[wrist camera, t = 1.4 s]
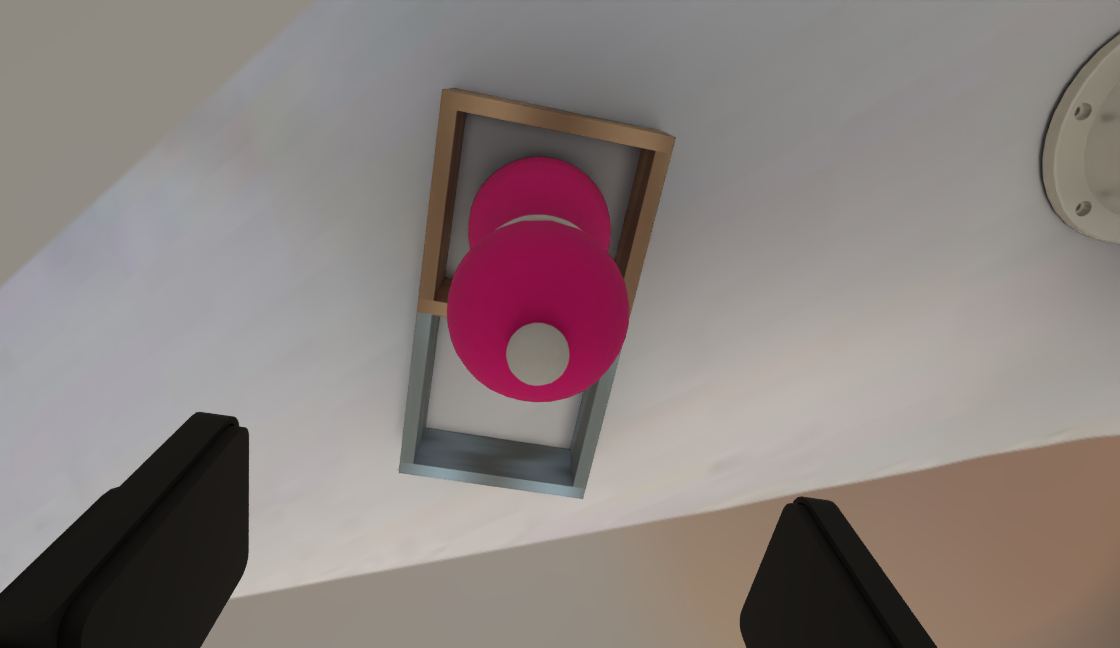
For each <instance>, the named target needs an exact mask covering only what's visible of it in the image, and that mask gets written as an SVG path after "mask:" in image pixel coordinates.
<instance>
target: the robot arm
mask: <svg viewBox="0 0 1120 648" xmlns="http://www.w3.org/2000/svg"><path fill="white" fill-rule="evenodd" d="M1042 159H1043V180H1044V184H1045V188H1046V192H1047V196H1048V199H1049V200H1050V202H1051V204H1052V206H1053V208H1054V210H1055V212H1056V213H1057V214H1058V215H1059V216H1060V217H1061V219H1062V220H1063V221H1064V222H1065V223H1066V224H1067V225H1068V226H1070V227H1071V228H1073V229H1075V230H1076V231H1078V232H1079V233H1081V234H1083V235H1086V236H1089V237H1092V238H1095V239H1098V240H1101V241H1106V242H1111V243H1116V244H1120V34H1119V35H1118V36H1116V37H1115V38H1114V39H1113V40H1111V41H1110V42H1109V43H1108V44H1106V45H1105V46H1104V47H1103V48H1101V49H1100V50H1099V51H1098V52H1097V53H1096V54H1095V55H1094V56H1093V58H1092V59H1091V60H1090V61H1089V62H1088V63H1087V64H1086V65H1085V66H1084V67H1083V68H1082V69H1081V70H1080V72H1079V73H1078V75H1077V76H1076V77H1075V79H1074V80H1073V82H1072V83H1071V84H1070V86H1069V87H1068V89H1067V90H1066V91H1065V93H1064V95H1063V97H1062V99H1061V101H1060V103H1059V105H1058V107H1057V109H1056V111H1055V113H1054V115H1053V118H1052V121H1051V124H1050V126H1049V129H1048V132H1047V135H1046V140H1045V146H1044V152H1043V158H1042ZM248 552H249V432H248V429H247V428H245V427H239V422H238V420H237V418H235V417H233V416H225V415H218V414H211V413H204V412H196V413H195V414H194V415H192V416H191V417H190V418H189V419H188V420H187V421H186V422H185V423H184V424H183V425H182V426H181V427H180V428H179V429H178V430H177V431H176V432H175V433H174V434H173V435H172V436H171V437H170V438H169V439H168V440H167V441H166V442H165V443H164V444H162V445H161V446H160V447H159V448H158V449H157V450H156V451H155V452H154V453H153V454H152V455H151V456H150V457H149V458H148V459H147V460H146V461H145V462H144V463H143V464H142V465H141V466H140V467H139V468H138V469H137V470H136V471H135V472H134V473H133V474H132V475H131V476H130V477H129V478H128V479H127V480H126V481H125V482H124V483H123V484H122V485H121V486H120V487H116V488H113V489H110V490H109V491H108V492H106V493H105V494H104V495H102V496H101V497H100V498H99V499H98V500H97V501H96V502H95V503H94V504H93V505H92V506H91V507H90V508H89V509H88V510H87V511H85V512H84V513H83V514H82V515H81V516H80V517H79V518H78V519H77V520H76V521H75V522H74V523H73V524H72V525H71V526H70V527H69V528H68V529H67V530H66V531H65V532H64V533H63V534H62V535H61V536H59V537H58V538H57V539H56V540H55V541H54V542H53V543H52V544H51V545H50V546H49V547H48V548H47V549H46V550H45V551H44V552H43V553H42V554H41V555H40V556H39V557H38V558H37V559H36V560H35V561H33V562H32V563H31V564H30V565H29V566H28V567H27V568H26V569H25V570H24V571H23V572H22V573H21V574H20V575H19V576H18V577H17V578H16V579H15V580H14V581H13V582H12V583H11V584H10V585H8V586H7V587H6V588H5V589H4V590H3V591H2V592H1V593H0V648H200V647H201V646H202V644H203V642H204V640H205V639H206V637H207V635H208V633H209V632H210V630H211V628H212V627H213V625H214V623H215V622H216V620H217V618H218V616H219V615H220V613H221V612H222V610H223V608H224V606H225V605H226V603H227V601H228V600H229V598H230V596H231V595H232V593H233V591H234V589H235V588H236V586H237V584H238V583H239V581H240V579H241V577H242V575H243V573H244V571H245V568H246V564H247V560H248ZM740 630H741V634H742V637H743V640H744V642H745V645H746V648H937V646H936V645H935V643H934V642H933V641H932V639H931V638H930V636H929V635H928V634H927V632H926V631H925V629H924V628H923V627H922V625H921V624H920V622H919V621H918V619H917V618H916V617H915V615H914V614H913V612H911V610H910V608H909V607H908V605H907V604H906V603H905V601H904V600H903V599H902V597H901V596H900V594H899V593H898V591H897V590H896V589H895V587H894V586H893V584H892V583H891V581H890V580H889V579H888V577H887V576H886V574H885V573H884V572H883V570H882V569H881V567H880V566H879V565H878V563H877V562H876V560H875V559H874V558H873V556H872V555H871V553H870V552H869V551H868V549H867V548H866V546H865V545H864V544H863V542H862V541H861V539H860V538H859V537H858V535H857V534H856V532H855V531H854V529H853V528H852V527H851V525H850V524H849V522H848V521H847V520H846V518H845V517H844V515H843V514H842V513H841V511H840V510H839V508H838V507H837V506H836V505H835V504H834V503H833V502H831V501H829V500H822V499H815V498H808V497H798V498H797V499H795V500H794V502H793V503H790V504H787V505H786V506H785V507H784V509H783V511H782V513H781V516H780V518H779V521H778V523H777V525H776V528H775V530H774V533H773V535H772V538H771V540H770V542H769V545H768V547H767V550H766V552H765V555H764V557H763V560H762V562H761V564H760V567H759V570H758V572H757V574H756V577H755V579H754V582H753V584H752V586H751V589H750V592H749V594H748V596H747V599H746V601H745V604H744V606H743V609H742V611H741V615H740Z"/></svg>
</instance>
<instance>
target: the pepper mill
mask: <svg viewBox="0 0 1120 648" xmlns="http://www.w3.org/2000/svg"><path fill="white" fill-rule="evenodd" d="M468 236H469V244H470V249H471V250H470V251H469V252H468V253H467V255H466V256H465V257H464V258H463V260H462V261H461V263H460V264H459V266H458V268H457V270H456V272H455V274H454V276H453V279H452V283H451V287H450V290H449V294H448V303H447V321H448V328H449V333H450V337H451V341H452V343H453V346H454V348H455V351H456V353H457V355H458V356H459V358H460V359H461V361H462V362H463V364H464V365H465V366H466V368H467V369H468V370H469V372H470V373H471V374H472V375H473V376H474V377H475V378H476V379H477V380H478V381H480V382H481V383H482V384H484V385H485V386H486V387H488V388H489V389H491V390H493V391H495V392H497V393H499V394H502V395H504V396H506V397H510V398H514V399H517V400H522V401H530V402H551V401H556V400H560V399H565V398H569V397H571V396H573V395H575V394H578V393H580V392H582V391H584V390H586V389H587V388H588V387H590V386H591V385H593V384H594V383H596V382H597V381H598V380H599V379H600V378H601V377H602V376H603V375H604V374H605V373H606V372H607V371H608V369H609V368H610V366H611V365H612V364H613V362H614V361H615V359H616V358H617V356H618V355H619V353H620V350H621V348H622V345H623V343H624V340H625V338H626V333H627V329H628V324H629V300H628V294H627V289H626V284H625V281H624V279H623V277H622V275H621V273H620V271H619V269H618V267H617V265H616V263H615V261H614V260H613V259H612V257H611V256H610V255H609V253H608V249H609V244H610V236H611V227H610V216H609V212H608V208H607V205H606V202H605V200H604V197H603V195H602V194H601V192H600V190H599V189H598V187H597V186H596V185H595V183H594V182H593V181H592V180H591V179H590V178H589V176H587V175H586V174H585V173H583V172H582V171H581V170H579V169H578V168H577V167H575V166H573V165H571V164H569V163H567V162H564V161H561V160H558V159H554V158H547V157H531V158H525V159H521V160H517V161H514V162H512V163H510V164H507V165H505V166H504V167H502V168H501V169H499V170H498V171H496V172H495V173H494V174H493V175H492V176H490V177H489V178H488V179H487V180H486V182H485V183H484V184H483V185H482V187H481V188H480V190H479V191H478V193H477V195H476V197H475V199H474V202H473V205H472V207H471V212H470V218H469V234H468Z"/></svg>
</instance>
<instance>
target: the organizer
mask: <svg viewBox="0 0 1120 648" xmlns="http://www.w3.org/2000/svg"><path fill="white" fill-rule="evenodd" d="M466 112H467V113H472V114H477V115H482V116H486V117H491V118H496V119H501V120H506V121H511V122H516V123H521V124H526V125H531V126H536V127H541V128H546V129H551V130H555V131H560V132H565V133H570V134H575V135H580V136H585V137H590V138H595V139H600V140H605V141H610V142H615V143H620V144H624V145H629V146H634V147H639V148H642V150H641V154H640V158H639V162H638V166H637V171H636V175H635V179H634V183H633V187H632V192H631V196H630V200H629V204H628V208H627V213H626V217H625V221H624V225H623V229H622V234H621V238H620V242H619V246H618V250H617V255H616V259H615V263H616V265H617V267H618V269H619V271H620V273H621V275H622V277H623V279H624V281H625V284H626V289H627V294H628V300H629V317H630V314H631V310H632V306H633V302H634V298H635V294H636V290H637V286H638V282H639V278H640V275H641V271H642V267H643V263H644V259H645V255H646V251H647V247H648V243H649V239H650V236H651V232H652V228H653V224H654V220H655V216H656V212H657V208H658V204H659V201H660V197H661V193H662V189H663V185H664V181H665V177H666V173H667V169H668V165H669V162H670V158H671V154H672V150H673V146H674V142H675V138H676V137H674V136H671V135H669V134H667V133H665V132H662V131H659V130H654V129H649V128H645V127H640V126H635V125H630V124H625V123H620V122H616V121H611V120H606V119H601V118H596V117H591V116H586V115H582V114H577V113H572V112H567V111H562V110H557V109H553V108H548V107H543V106H538V105H533V104H528V103H523V102H519V101H514V100H509V99H504V98H499V97H494V96H490V95H485V94H480V93H475V92H470V91H465V90H460V89H456V88H450V89H442V95H441V104H440V113H439V122H438V131H437V139H436V148H435V157H434V166H433V175H432V183H431V192H430V201H429V210H428V219H427V227H426V236H425V245H424V254H423V263H422V272H421V280H420V289H419V298H418V307H417V316H416V324H415V333H414V342H413V351H412V360H411V368H410V377H409V386H408V395H407V404H406V412H405V421H404V430H403V439H402V448H401V456H400V465H399V473H403V474H410V475H417V476H424V477H431V478H438V479H445V480H452V481H459V482H466V483H473V484H480V485H487V486H495V487H502V488H509V489H516V490H523V491H530V492H537V493H544V494H551V495H558V496H565V497H572V498H579V499H583V497H584V493H585V489H586V485H587V481H588V477H589V473H590V469H591V465H592V462H593V458H594V454H595V450H596V446H597V442H598V438H599V434H600V430H601V427H602V423H603V419H604V415H605V411H606V407H607V403H608V399H609V395H610V391H611V388H612V384H613V380H614V376H615V372H616V368H617V364H618V360H619V356H620V353H619V355H618V356H617V358H616V359H615V361H614V362H613V364H612V365H611V366H610V368H609V369H608V371H607V372H606V373H605V374H604V375H603V376H602V377H601V378H600V379H599V380H598V381H597V382H596V383H594V384H593V385H591V386H590V387H588V388H587V389H586V390H584V393H583V398H582V402H581V406H580V410H579V414H578V419H577V423H576V427H575V431H574V435H573V440H572V444H571V448H570V450H569V449H562V448H555V447H549V446H542V445H535V444H529V443H522V442H515V441H509V440H502V439H495V438H489V437H482V436H476V435H469V434H462V433H456V432H449V431H442V430H436V429H429V428H425V426H426V419H427V411H428V403H429V396H430V388H431V380H432V372H433V365H434V357H435V349H436V341H437V334H438V326H439V318H440V316H443V317H447V303H448V294H449V290H450V287H451V283H452V279H448V278H445V272H446V264H447V256H448V249H449V241H450V233H451V225H452V218H453V210H454V202H455V194H456V187H457V179H458V171H459V163H460V156H461V148H462V140H463V132H464V125H465V117H466ZM621 349H622V348H621ZM620 352H621V350H620Z"/></svg>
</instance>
